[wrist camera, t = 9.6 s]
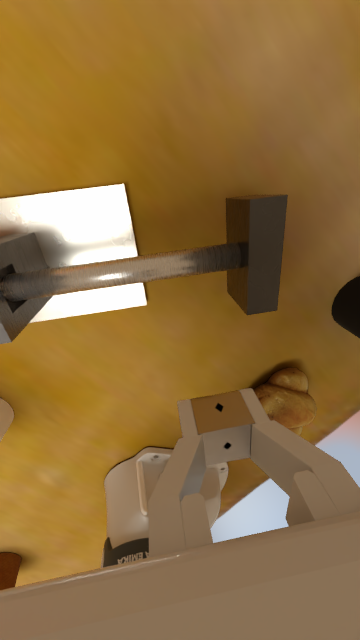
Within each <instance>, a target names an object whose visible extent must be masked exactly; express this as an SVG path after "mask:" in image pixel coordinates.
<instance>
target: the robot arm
mask: <svg viewBox="0 0 360 640" xmlns="http://www.w3.org/2000/svg"><path fill="white" fill-rule="evenodd" d="M177 403H178V411H179V417H180V424H181V430H182V436H183V438H179V439H178V441H177V444H176V446H175V448H174V450H172V449H163V448H154V447H148V448H145V449H143V450H142V451H140V452H139V453H138V454H137V455H136V456H135V457H133V458H131V459H129V460H127V461H125V462H122V463H121V464H119V465H117V466H116V467H114V468H113V469H112V470H111V471H110V472H109V473H108V475H107V476H106V478H105V482H104V486H105V492H106V502H107V539H106V541H105V544H104V548H103V553H102V561H101V568H99V569H95V570H90V571H86V572H81V573H77V574H72V575H68V576H63V577H59V578H54V579H50V580H45V581H41V582H36V583H32V584H27V585H23V586H18V587H13V588H9V589H4V590H0V640H360V488H359V487H358V485H357V484H356V483H355V481H354V480H353V478H352V477H351V476H350V474H349V473H348V472H347V470H346V469H345V468H344V466H343V465H342V464H341V462H339V461H338V460H336V459H334V458H333V457H331V456H330V455H328V454H327V453H325V452H323V451H322V450H320V449H319V448H317V447H316V446H314V445H313V444H311V443H309V442H308V441H306V440H305V439H303V438H302V437H300V436H298V435H297V434H295V433H294V432H292V431H290V430H289V429H287V428H286V427H284V426H283V425H281V424H279V423H278V422H276V421H275V420H273V421H270V419H269V417H268V416H267V414H266V412H265V410H264V409H263V407H262V405H261V403H260V401H259V400H258V398H257V396H256V394H255V393H254V391H253V389H251V388H247V389H242V390H236V391H231V392H226V393H221V394H216V395H212V396H205V397H199V398H193V399H188V400H181V401H177ZM245 458H250V459H251V460H252V461H253V462H254V463H255V464H256V465H257V466H258V467H259V468H261V469H262V470H263V471H264V472H265V473H266V474H267V475H268V476H269V477H270V478H271V479H272V480H273V481H274V482H275V483H276V484H277V485H278V486H279V487H280V488H281V489H282V490H283V491H285V492H286V493H287V494H288V495H289V496H290V499H289V504H288V508H287V514H286V520H287V523H288V525H289V527H285V528H280V529H276V530H271V531H266V532H262V533H257V534H253V535H249V536H244V537H240V538H235V539H230V540H226V541H222V542H217V543H213V541H212V536H211V531H210V528H211V527H212V526H213V524H214V522H215V521H216V519H217V516H218V514H219V510H220V505H221V490H222V489H223V487H224V485H225V483H226V480H227V476H228V464H227V461H233V460H239V459H245Z"/></svg>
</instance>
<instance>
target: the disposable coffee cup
mask: <svg viewBox="0 0 360 640" xmlns="http://www.w3.org/2000/svg"><path fill="white" fill-rule="evenodd" d="M20 563H21V557H20V556H19V555H17V554H14V553H0V590H4V589H9V588H13V587H15V584H16V579H17V575H18V571H19V567H20Z"/></svg>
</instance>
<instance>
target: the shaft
mask: <svg viewBox="0 0 360 640" xmlns="http://www.w3.org/2000/svg"><path fill="white" fill-rule="evenodd" d="M287 196H288V195H249V196H241V197H233V198H226V231H227V244H221V245H214V246H207V247H200V248H192V249H185V250H178V251H171V252H164V253H156V254H149V255H142V256H135V257H128V258H121V259H113V260H106V261H99V262H92V263H85V264H78V265H70V266H63V267H56V268H49V269H42V270H35V271H27V272H20V273H13V274H6V275H0V289H1V291H2V293H3V295H4V297H5V299H6V301H7V302H14V301H21V300H27V299H34V298H41V297H48V296H55V295H62V294H68V293H75V292H82V291H89V290H96V289H102V288H109V287H116V286H123V285H130V284H137V283H143V282H150V281H157V280H164V279H171V278H178V277H184V276H191V275H198V274H205V273H212V272H219V271H225V270H227V291H228V293H229V294H230V296H231V297H232V298H233V299H234V300H235V301H236V303H237V304H238V305H239V306H240V307H241V308H242V310H243V311H244V312H245V313H246V314H247V315H251V314H257V313H264V312H270V311H276V310H277V306H278V295H279V284H280V273H281V262H282V251H283V240H284V229H285V218H286V207H287Z"/></svg>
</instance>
